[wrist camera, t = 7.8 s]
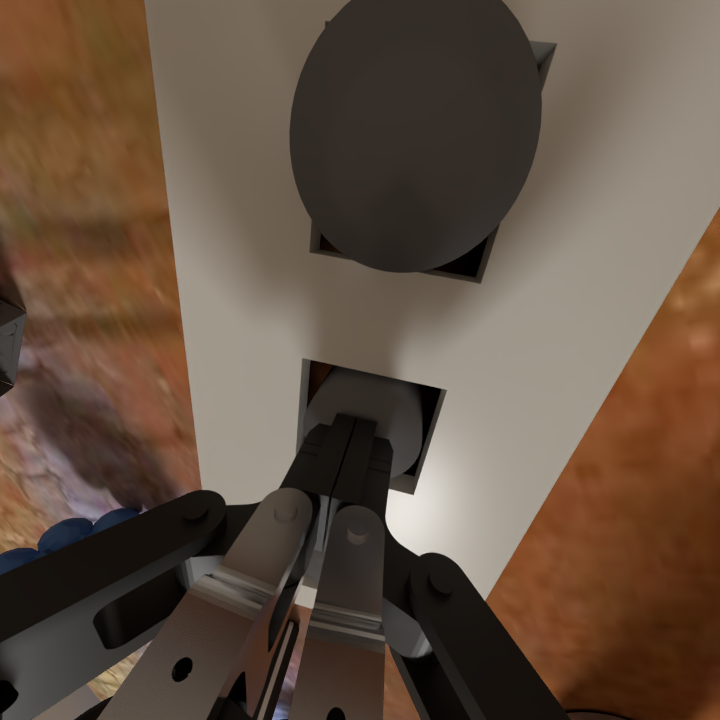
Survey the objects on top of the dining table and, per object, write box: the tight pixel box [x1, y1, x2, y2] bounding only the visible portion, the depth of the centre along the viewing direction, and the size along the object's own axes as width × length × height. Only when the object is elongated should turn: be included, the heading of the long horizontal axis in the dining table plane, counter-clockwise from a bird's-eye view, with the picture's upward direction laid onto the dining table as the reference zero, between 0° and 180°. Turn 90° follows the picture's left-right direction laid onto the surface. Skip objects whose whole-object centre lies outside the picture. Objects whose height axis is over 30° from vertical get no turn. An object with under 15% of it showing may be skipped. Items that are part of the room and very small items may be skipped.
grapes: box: [0, 508, 139, 575], centre depth 23 cm, size 12×7×12 cm, turn 82°
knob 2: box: [303, 365, 423, 479], centre depth 14 cm, size 4×4×5 cm
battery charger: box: [252, 621, 299, 720], centre depth 27 cm, size 7×4×11 cm, turn 166°
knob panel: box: [144, 0, 720, 609], centre depth 14 cm, size 14×26×6 cm, turn 172°
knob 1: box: [289, 0, 542, 273], centre depth 8 cm, size 4×4×5 cm
